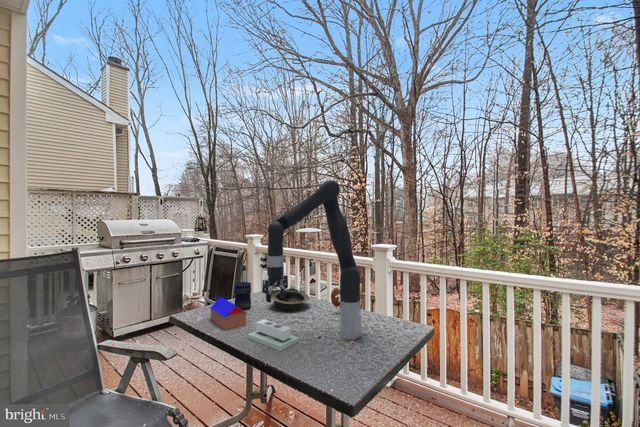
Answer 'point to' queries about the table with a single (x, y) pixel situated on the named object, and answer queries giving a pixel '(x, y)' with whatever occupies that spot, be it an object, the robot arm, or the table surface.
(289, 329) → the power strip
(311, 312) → the table surface
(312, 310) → the table surface
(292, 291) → the stone bowl
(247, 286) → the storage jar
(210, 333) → the table surface
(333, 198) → the robot arm
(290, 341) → the hole board
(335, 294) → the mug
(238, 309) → the house
